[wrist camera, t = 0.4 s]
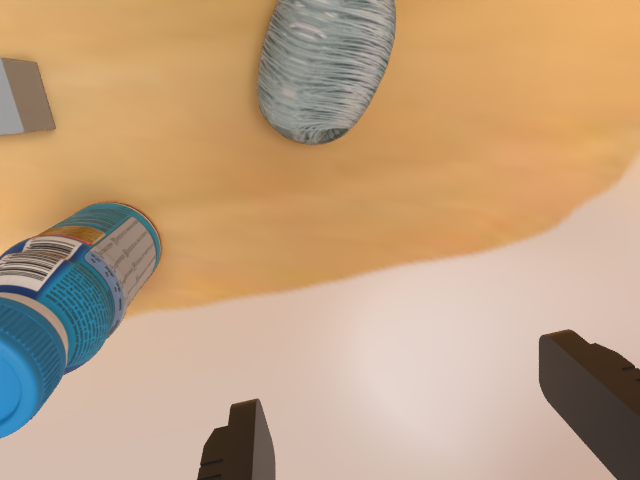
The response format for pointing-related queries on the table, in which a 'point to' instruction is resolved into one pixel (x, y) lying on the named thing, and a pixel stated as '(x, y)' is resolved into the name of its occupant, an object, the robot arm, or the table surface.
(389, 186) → the table surface
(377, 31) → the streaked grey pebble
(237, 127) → the table surface
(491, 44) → the table surface
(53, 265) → the beverage bottle
